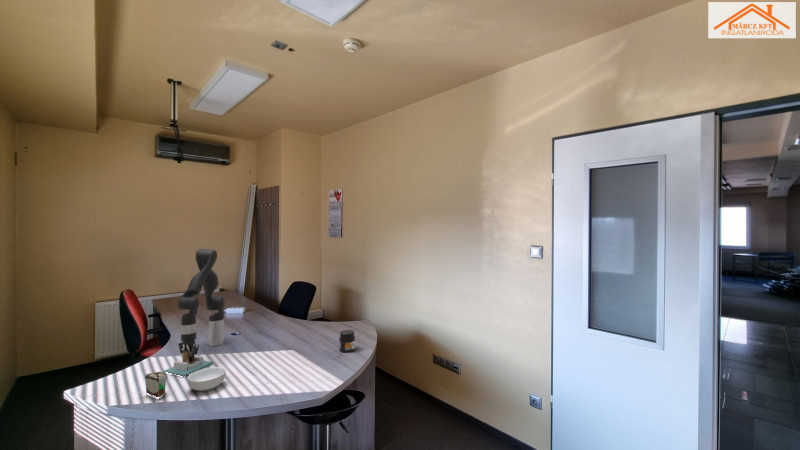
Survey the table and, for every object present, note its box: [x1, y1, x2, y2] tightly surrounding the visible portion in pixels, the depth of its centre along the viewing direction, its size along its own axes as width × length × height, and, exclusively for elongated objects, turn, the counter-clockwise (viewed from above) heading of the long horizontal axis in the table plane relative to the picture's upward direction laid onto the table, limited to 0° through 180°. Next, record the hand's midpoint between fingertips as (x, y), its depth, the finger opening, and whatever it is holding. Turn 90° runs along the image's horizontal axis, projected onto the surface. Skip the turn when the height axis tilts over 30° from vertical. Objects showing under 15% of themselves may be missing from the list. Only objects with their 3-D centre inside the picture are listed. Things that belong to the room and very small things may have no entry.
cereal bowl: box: [187, 366, 227, 392], centre depth 164 cm, size 17×17×7 cm
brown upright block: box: [182, 349, 196, 364], centre depth 186 cm, size 3×5×10 cm, turn 161°
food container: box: [144, 371, 169, 397], centre depth 157 cm, size 12×6×10 cm, turn 65°
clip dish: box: [162, 355, 214, 378], centre depth 186 cm, size 16×18×6 cm
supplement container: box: [338, 329, 356, 354], centre depth 213 cm, size 10×10×12 cm
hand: (188, 361), depth 186 cm, fingers open, 4 cm apart
